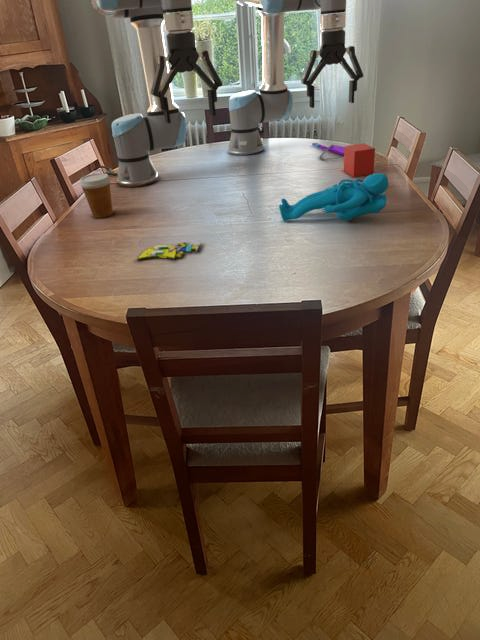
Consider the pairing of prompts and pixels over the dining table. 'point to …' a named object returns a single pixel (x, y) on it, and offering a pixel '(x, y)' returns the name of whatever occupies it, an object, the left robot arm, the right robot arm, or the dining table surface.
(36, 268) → the dining table surface
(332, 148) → the musical instrument
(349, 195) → the toy
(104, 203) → the disposable coffee cup
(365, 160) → the brick
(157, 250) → the toy
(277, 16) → the right robot arm
